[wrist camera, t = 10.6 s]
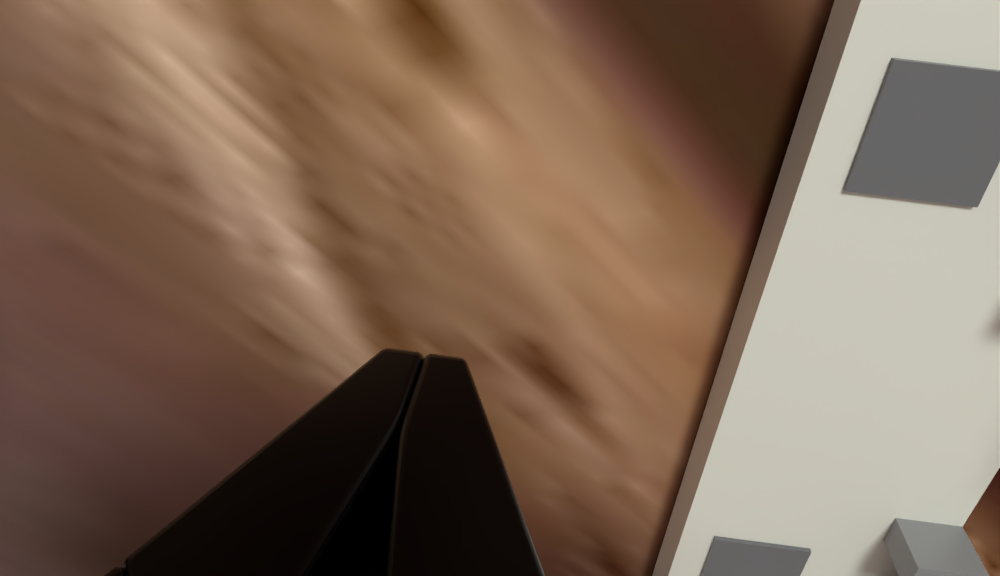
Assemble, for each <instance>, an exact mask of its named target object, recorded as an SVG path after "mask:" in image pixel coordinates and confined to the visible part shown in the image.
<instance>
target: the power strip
mask: <svg viewBox="0 0 1000 576" xmlns="http://www.w3.org/2000/svg"><path fill="white" fill-rule="evenodd" d="M999 468H1000V0H834V3H833V7H832V10H831V13H830V16H829V19H828V22H827V25H826V29H825V32H824V35H823V38H822V41H821V44H820V48H819V51H818V54H817V57H816V60H815V63H814V66H813V70H812V73H811V76H810V79H809V82H808V85H807V89H806V92H805V95H804V98H803V101H802V104H801V107H800V111H799V114H798V117H797V120H796V123H795V126H794V130H793V133H792V136H791V139H790V142H789V145H788V148H787V152H786V155H785V158H784V161H783V164H782V167H781V171H780V174H779V177H778V180H777V183H776V186H775V189H774V193H773V196H772V199H771V202H770V205H769V208H768V212H767V215H766V218H765V221H764V224H763V227H762V230H761V234H760V237H759V240H758V243H757V246H756V249H755V253H754V256H753V259H752V262H751V265H750V268H749V271H748V275H747V278H746V281H745V284H744V287H743V290H742V294H741V297H740V300H739V303H738V306H737V309H736V312H735V316H734V319H733V322H732V325H731V328H730V331H729V335H728V338H727V341H726V344H725V347H724V350H723V353H722V357H721V360H720V363H719V366H718V369H717V372H716V376H715V379H714V382H713V385H712V388H711V391H710V394H709V398H708V401H707V404H706V407H705V410H704V413H703V416H702V420H701V423H700V426H699V429H698V432H697V435H696V439H695V442H694V445H693V448H692V451H691V454H690V457H689V461H688V464H687V467H686V470H685V473H684V476H683V480H682V483H681V486H680V489H679V492H678V495H677V498H676V502H675V505H674V508H673V511H672V514H671V517H670V521H669V524H668V527H667V530H666V533H665V536H664V539H663V543H662V546H661V549H660V552H659V555H658V558H657V562H656V565H655V568H654V571H653V574H652V576H989V574H988V573H987V571H986V569H985V567H984V565H983V563H982V562H981V560H980V558H979V556H978V554H977V552H976V551H975V549H974V547H973V545H972V543H971V541H970V540H969V538H968V536H967V534H966V532H965V530H964V528H963V525H964V523H965V522H966V520H967V519H968V517H969V515H970V514H971V512H972V511H973V509H974V508H975V506H976V504H977V503H978V501H979V500H980V498H981V496H982V495H983V493H984V492H985V490H986V488H987V487H988V485H989V484H990V482H991V480H992V479H993V477H994V476H995V474H996V473H997V471H998V469H999Z"/></svg>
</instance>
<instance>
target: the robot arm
mask: <svg viewBox="0 0 1000 576" xmlns="http://www.w3.org/2000/svg"><path fill="white" fill-rule="evenodd" d="M124 569H125V570H124ZM105 576H545V574H544V571H543V569H542V566H541V563H540V561H539V558H538V555H537V552H536V550H535V547H534V544H533V541H532V539H531V536H530V533H529V530H528V528H527V525H526V522H525V520H524V517H523V514H522V511H521V509H520V506H519V503H518V500H517V498H516V495H515V492H514V489H513V487H512V484H511V481H510V479H509V476H508V473H507V470H506V468H505V465H504V462H503V459H502V457H501V454H500V451H499V448H498V446H497V443H496V440H495V438H494V435H493V432H492V429H491V427H490V424H489V421H488V418H487V416H486V413H485V410H484V408H483V405H482V402H481V399H480V397H479V394H478V391H477V388H476V386H475V383H474V380H473V377H472V375H471V372H470V369H469V367H468V364H467V362H466V361H465V360H464V359H463V358H460V357H453V356H445V355H437V354H429V355H427V356H426V357H425V358H424V357H423V355H422V354H421V353H419V352H414V351H406V350H399V349H391V348H390V349H384V350H382V351H380V352H379V353H378V354H376V355H375V356H374V357H373V358H372V359H370V360H369V361H368V362H367V363H365V364H364V365H363V366H362V367H361V368H359V369H358V370H357V371H356V372H354V373H353V374H352V375H351V376H350V377H348V378H347V379H346V380H345V381H343V382H342V383H341V384H340V385H338V386H337V387H336V388H335V389H334V390H332V391H331V392H330V393H329V394H327V395H326V396H325V397H324V398H323V399H321V400H320V401H319V402H318V403H316V404H315V405H314V406H313V407H312V408H310V409H309V410H308V411H307V412H305V413H304V414H303V415H302V416H300V417H299V418H298V419H297V420H296V421H294V422H293V423H292V424H291V425H289V426H288V427H287V428H286V429H285V430H283V431H282V432H281V433H280V434H278V435H277V436H276V437H275V438H274V439H272V440H271V441H270V442H269V443H267V444H266V445H265V446H264V447H263V448H261V449H260V450H259V451H258V452H256V453H255V454H254V455H253V456H251V457H250V458H249V459H248V460H247V461H245V462H244V463H243V464H242V465H240V466H239V467H238V468H237V469H236V470H234V471H233V472H232V473H231V474H229V475H228V476H227V477H226V478H225V479H223V480H222V481H221V482H220V483H218V484H217V485H216V486H215V487H213V488H212V489H211V490H210V491H209V492H207V493H206V494H205V495H204V496H202V497H201V498H200V499H199V500H198V501H196V502H195V503H194V504H193V505H191V506H190V507H189V508H188V509H187V510H185V511H184V512H183V513H182V514H180V515H179V516H178V517H177V518H176V519H174V520H173V521H172V522H171V523H169V524H168V525H167V526H166V527H164V528H163V529H162V530H161V531H160V532H158V533H157V534H156V535H155V536H153V537H152V538H151V539H150V540H149V541H147V542H146V543H145V544H144V545H142V546H141V547H140V548H139V549H138V550H136V551H135V552H134V553H133V554H131V555H130V556H129V557H128V558H127V559H126V560H125V561H124V568H122V567H119V566H118V567H115V568H114V569H112V570H111V571H110V572H109V573H108V574H106V575H105Z"/></svg>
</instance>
